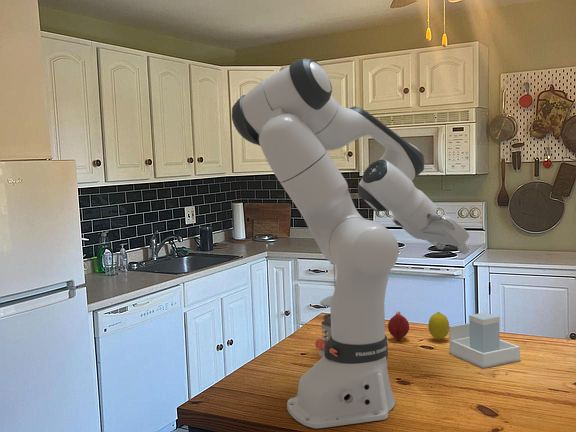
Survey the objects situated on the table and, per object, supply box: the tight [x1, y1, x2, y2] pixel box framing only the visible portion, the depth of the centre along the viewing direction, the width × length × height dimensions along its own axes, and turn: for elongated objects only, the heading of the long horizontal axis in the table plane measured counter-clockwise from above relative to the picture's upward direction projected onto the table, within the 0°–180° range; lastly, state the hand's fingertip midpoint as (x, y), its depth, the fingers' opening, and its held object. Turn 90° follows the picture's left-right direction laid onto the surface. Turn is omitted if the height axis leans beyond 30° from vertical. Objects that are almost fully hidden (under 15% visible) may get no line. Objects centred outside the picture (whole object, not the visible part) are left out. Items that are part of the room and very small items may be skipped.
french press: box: [318, 262, 336, 358], centre depth 154 cm, size 10×12×25 cm
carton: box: [468, 312, 501, 353], centre depth 147 cm, size 5×5×10 cm
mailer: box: [448, 322, 521, 370], centre depth 147 cm, size 11×13×7 cm
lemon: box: [427, 311, 450, 341], centre depth 162 cm, size 6×6×8 cm
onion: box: [387, 310, 410, 341], centre depth 164 cm, size 6×6×8 cm
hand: (453, 249), depth 145 cm, fingers open, 8 cm apart
